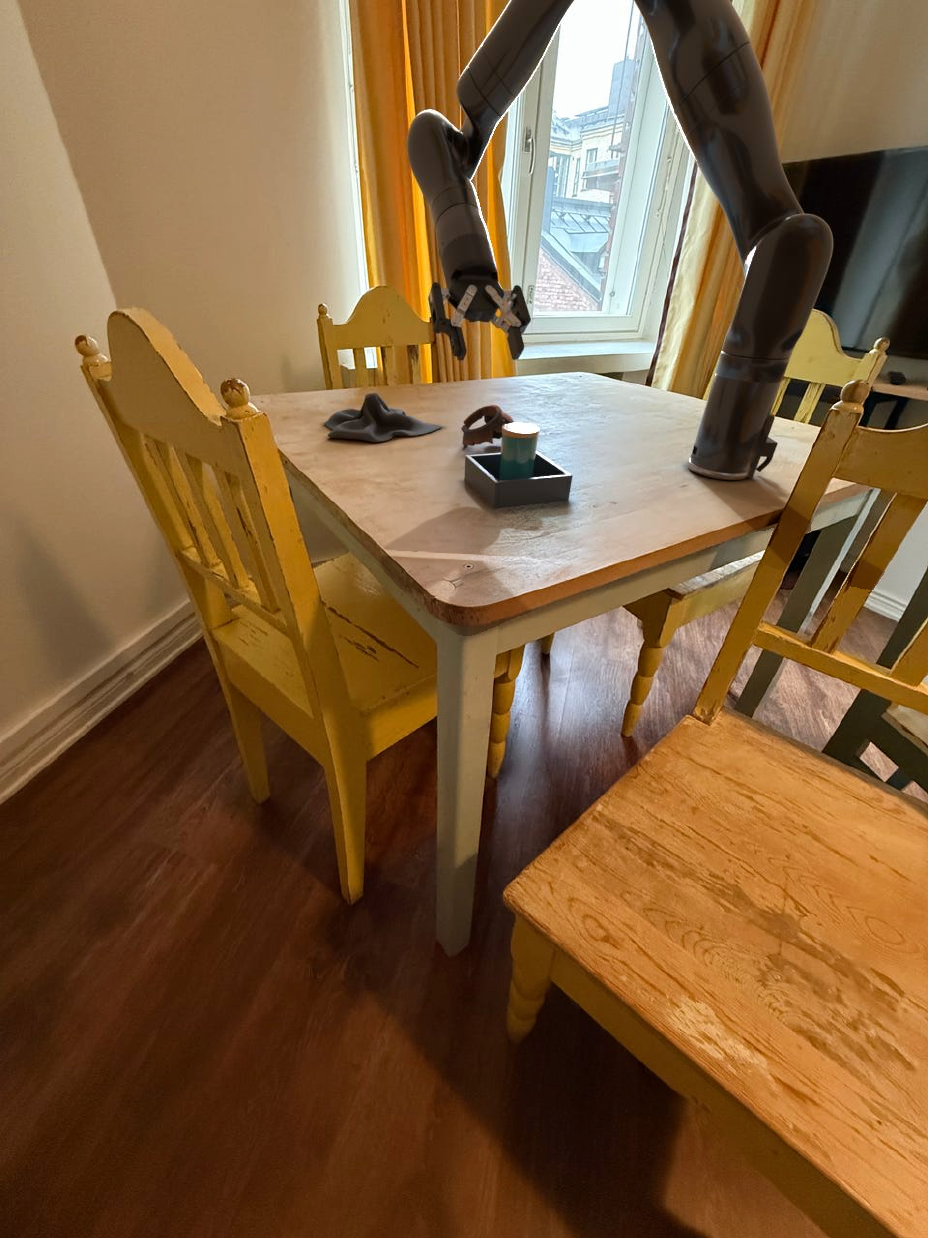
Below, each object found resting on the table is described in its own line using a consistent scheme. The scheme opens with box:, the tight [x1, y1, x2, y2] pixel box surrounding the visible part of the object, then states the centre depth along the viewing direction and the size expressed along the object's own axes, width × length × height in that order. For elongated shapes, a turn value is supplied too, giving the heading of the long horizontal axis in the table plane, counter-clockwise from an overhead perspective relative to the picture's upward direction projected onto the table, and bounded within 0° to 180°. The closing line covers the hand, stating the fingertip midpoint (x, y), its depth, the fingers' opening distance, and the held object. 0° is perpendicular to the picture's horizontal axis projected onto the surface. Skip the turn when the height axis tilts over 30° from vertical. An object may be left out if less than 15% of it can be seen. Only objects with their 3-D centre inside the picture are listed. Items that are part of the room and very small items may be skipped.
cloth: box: [323, 392, 443, 443], centre depth 97 cm, size 22×19×6 cm
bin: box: [464, 450, 573, 510], centre depth 73 cm, size 11×11×4 cm
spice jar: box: [498, 422, 540, 481], centre depth 71 cm, size 5×5×8 cm
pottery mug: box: [460, 404, 516, 448], centre depth 89 cm, size 12×10×8 cm
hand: (490, 356), depth 73 cm, fingers open, 8 cm apart
